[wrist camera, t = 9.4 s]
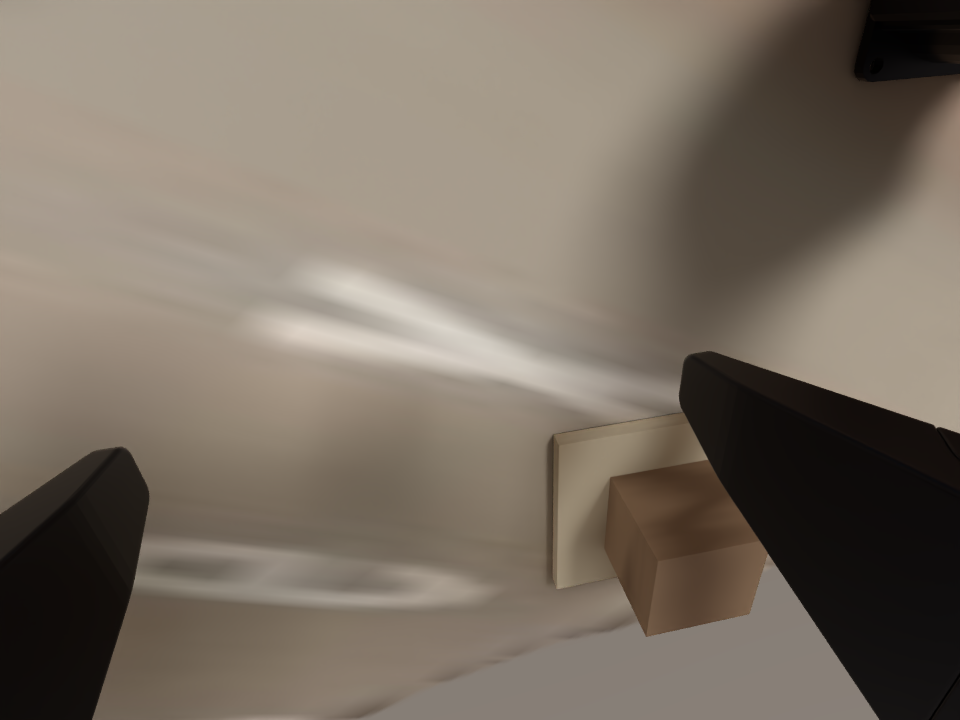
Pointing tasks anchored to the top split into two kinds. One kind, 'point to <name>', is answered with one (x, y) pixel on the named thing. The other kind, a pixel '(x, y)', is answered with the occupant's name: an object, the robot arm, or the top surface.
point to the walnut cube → (681, 547)
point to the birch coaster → (605, 485)
